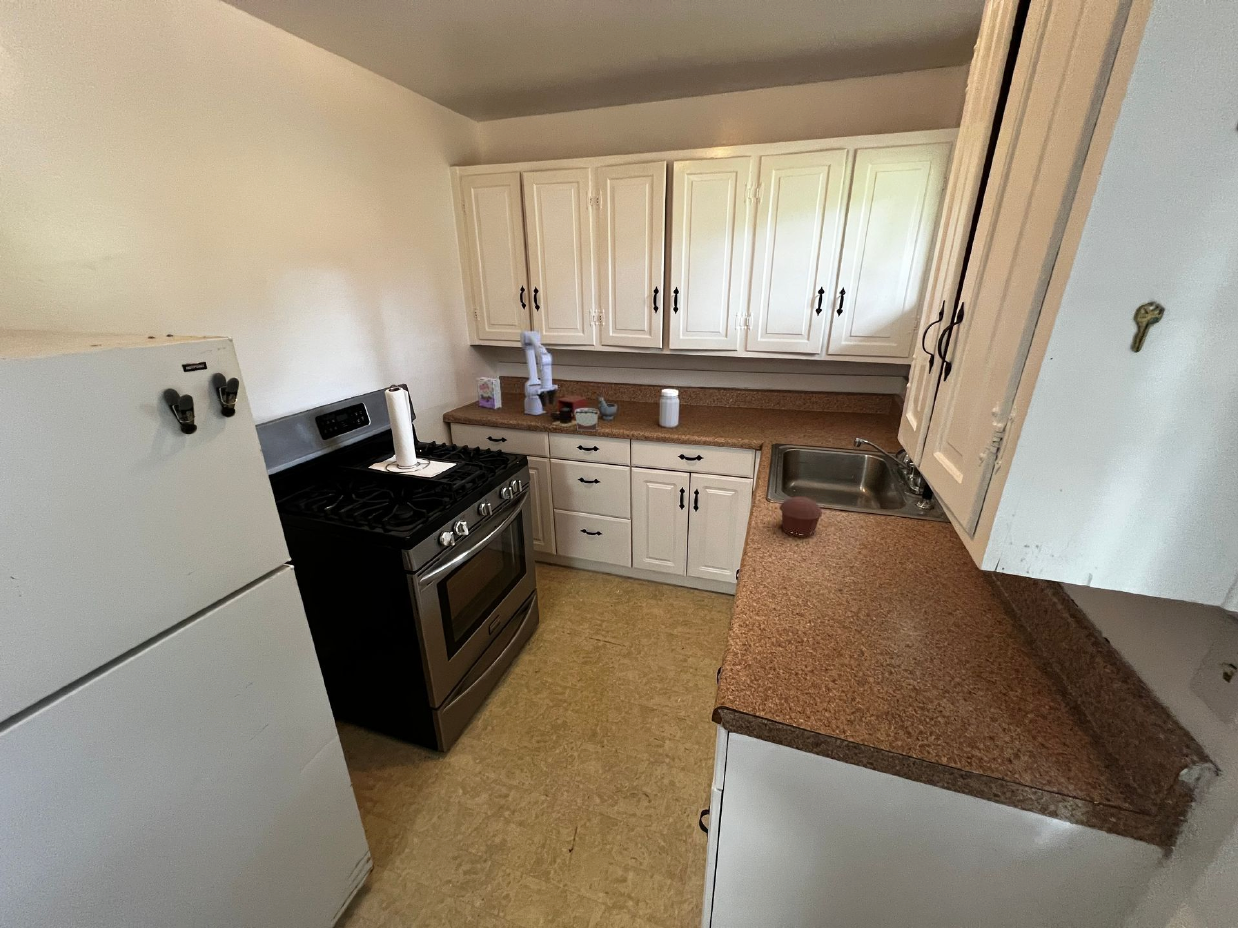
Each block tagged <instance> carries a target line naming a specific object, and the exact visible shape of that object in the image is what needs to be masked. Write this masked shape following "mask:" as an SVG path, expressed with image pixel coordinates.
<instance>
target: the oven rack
mask: <svg viewBox="0 0 1238 928" xmlns="http://www.w3.org/2000/svg"><path fill="white" fill-rule="evenodd" d="M549 414H550V415H549V416H550V418H553V419H558V420H560V414H559V412H558V411H556V412H555V411H550V413H549ZM572 416H573V413H572Z"/></svg>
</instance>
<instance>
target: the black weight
mask: <svg viewBox="0 0 1238 928" xmlns="http://www.w3.org/2000/svg"><path fill="white" fill-rule="evenodd" d="M559 414H560V419H559V421H560V423H564V424H568V423H571V422H572V420H573V418H572V413H571V409H569V408H563V409H559Z"/></svg>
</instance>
